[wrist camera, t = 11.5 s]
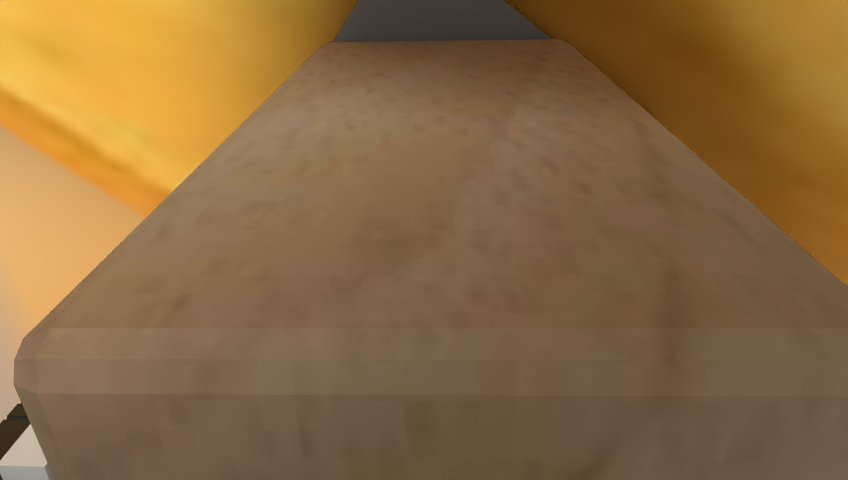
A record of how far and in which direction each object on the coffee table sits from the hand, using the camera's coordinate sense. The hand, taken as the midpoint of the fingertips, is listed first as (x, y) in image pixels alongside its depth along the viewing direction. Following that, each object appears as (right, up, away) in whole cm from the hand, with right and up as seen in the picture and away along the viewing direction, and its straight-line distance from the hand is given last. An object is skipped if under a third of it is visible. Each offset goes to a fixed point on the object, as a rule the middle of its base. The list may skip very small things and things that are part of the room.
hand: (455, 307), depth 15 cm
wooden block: (0, +5, +11) cm, 12 cm away
